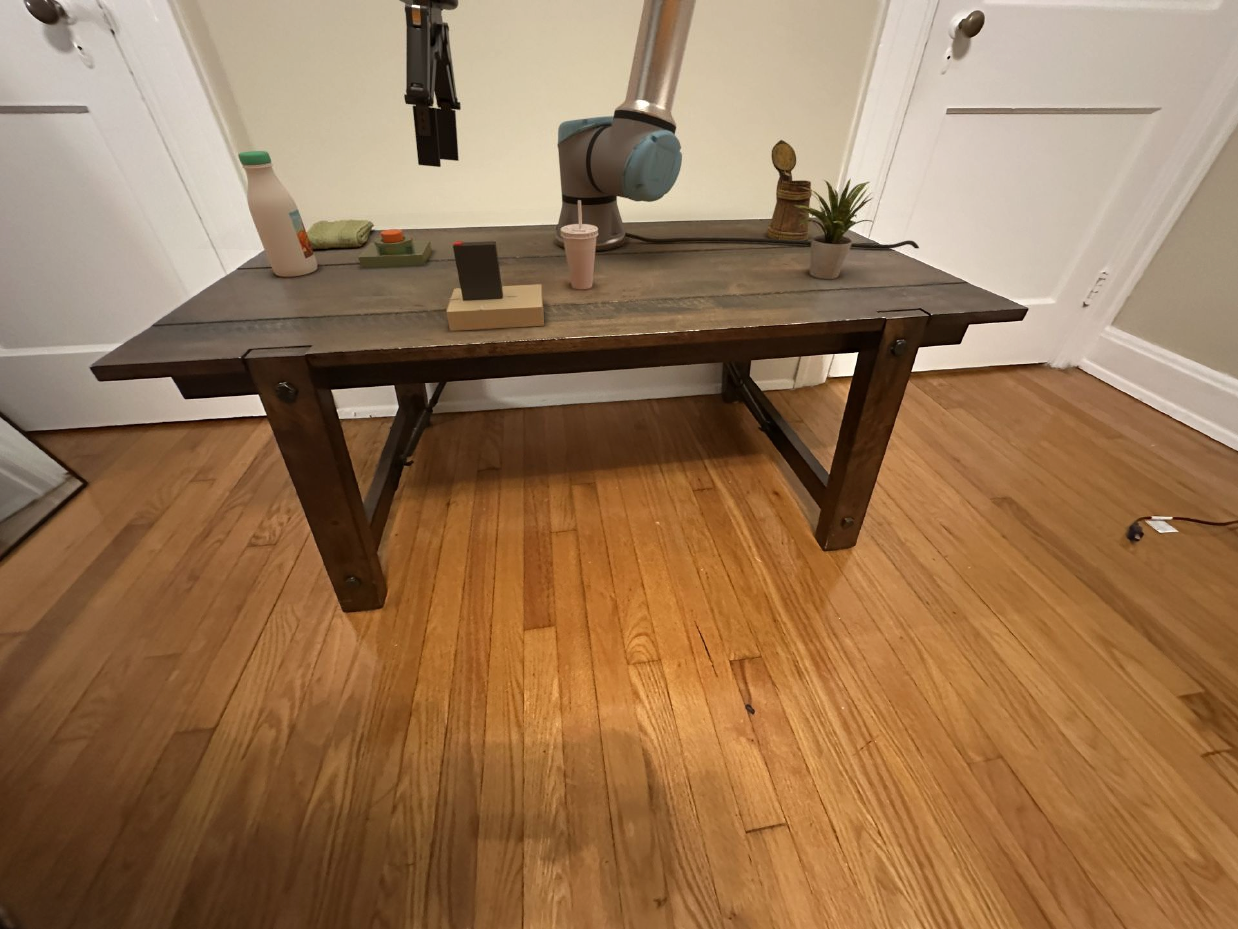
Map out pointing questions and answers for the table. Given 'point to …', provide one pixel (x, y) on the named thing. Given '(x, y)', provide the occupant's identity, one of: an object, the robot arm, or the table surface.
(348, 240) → the washcloth
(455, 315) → the tan wooden block
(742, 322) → the table surface
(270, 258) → the milk bottle
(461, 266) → the black rectangular block
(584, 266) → the smoothie
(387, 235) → the button
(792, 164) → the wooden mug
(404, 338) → the table surface
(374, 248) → the switch block
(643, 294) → the table surface
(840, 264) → the house plant
